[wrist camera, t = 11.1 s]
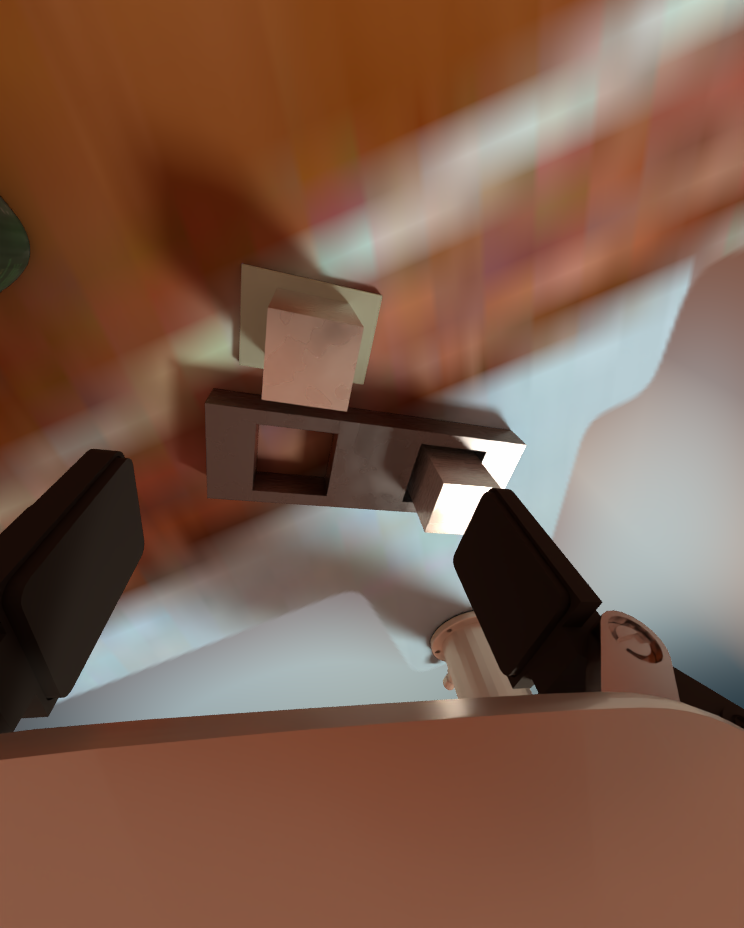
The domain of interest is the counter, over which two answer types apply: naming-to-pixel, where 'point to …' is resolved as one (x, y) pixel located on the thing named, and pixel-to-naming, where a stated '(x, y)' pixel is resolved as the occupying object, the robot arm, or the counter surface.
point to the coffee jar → (11, 246)
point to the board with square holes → (338, 452)
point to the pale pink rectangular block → (310, 350)
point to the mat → (264, 283)
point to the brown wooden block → (447, 487)
